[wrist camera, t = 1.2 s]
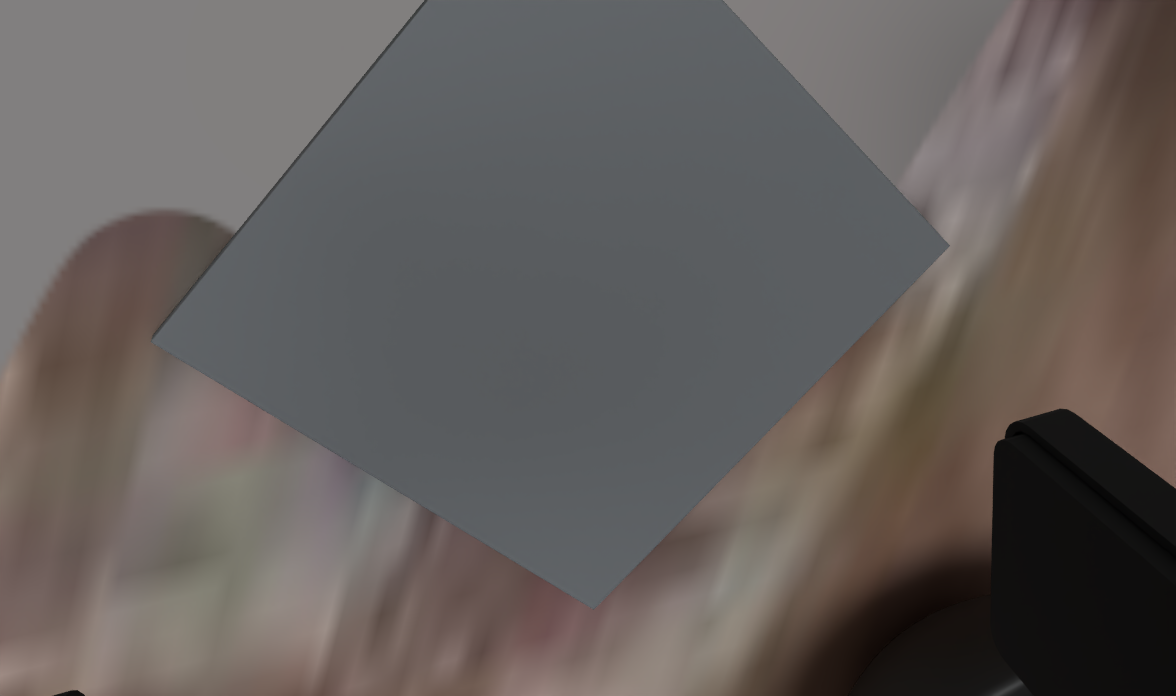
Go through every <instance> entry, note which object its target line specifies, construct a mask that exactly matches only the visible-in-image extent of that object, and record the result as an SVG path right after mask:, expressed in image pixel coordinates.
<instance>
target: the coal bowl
mask: <svg viewBox="0 0 1176 696" xmlns="http://www.w3.org/2000/svg"><path fill="white" fill-rule="evenodd" d="M990 609H991V595H987V596H982V597H978V598H974V599H970V600H967V601H964V602H961V603H957V604H955V605H952V606H949V607H946V608H944V609H942V610H940V611H937V612H935V613H933V614H931V615H929V616H927V617H925V618H924V619H922V620H920V621H919V622H917V623H915V624H914V625H912V626H911V627H909V628H908V629H906V630H905V631H904V632H902V633H901V634H900V635H898V636H897V637H896V638H895V639H894V640H892V641H891V642H890V643H889V644H888V645H887V646H886V647H885V648H884V649H883V650H882V651H881V652H880V653H879V654H878V655H877V656H876V657H875V658H874V659H873V660H872V662H871V663H870V664H869V665H868V667H867V668H866V669H865V671H864V672H863V673H862V675H861V676H860V677H859V679H858V680H857V682H856V683H855V685H854V686H853V688H852V690H851V692H850V693H849V695H848V696H1034V695H1033V694H1032V693H1031V692H1030V691H1029V689H1028V688H1027V687H1026V686H1025V685H1024V683H1023V682H1022V681H1021V680H1020V679H1019V677H1018V676H1017V675H1016V674H1015V673H1014V671H1013V670H1012V669H1011V668H1010V667H1009V665H1008V664H1007V663H1006V662H1005V660H1004V659H1003V658H1002V656H1001V655H1000V653H999V651H998V649H997V647H996V645H995V643H994V640H993V637H992V633H991V627H990Z"/></svg>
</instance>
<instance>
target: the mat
mask: <svg viewBox="0 0 1176 696" xmlns="http://www.w3.org/2000/svg"><path fill="white" fill-rule="evenodd" d="M949 246H950V245H949V244H948V243H947V242H946V241H945V240H944V239H943V238H942V237H941V236H940V234H939V233H938V232H937V231H936V230H935V229H934V228H933V227H932V226H931V225H930V224H929V223H928V222H927V220H926V219H925V218H924V217H923V216H922V215H921V214H920V213H919V212H918V211H917V210H916V209H915V207H914V206H913V205H912V204H911V203H910V202H909V201H908V200H907V199H906V198H905V197H904V196H903V195H902V193H901V192H900V191H899V190H898V189H897V188H896V187H895V186H894V185H893V184H892V183H891V182H890V180H889V179H888V178H887V177H886V176H885V175H884V174H883V173H882V172H881V171H880V170H879V169H878V168H877V166H876V165H875V164H874V163H873V162H872V161H871V160H870V159H869V158H868V157H867V156H866V155H865V153H864V152H863V151H862V150H861V149H860V148H859V147H858V146H857V145H856V144H855V143H854V142H853V141H852V140H851V138H850V137H849V136H848V135H847V134H846V133H845V132H844V131H843V130H842V129H841V128H840V127H839V125H838V124H837V123H836V122H835V121H834V120H833V119H832V118H831V117H830V116H829V115H828V113H827V112H826V111H825V110H824V109H823V108H822V107H821V106H820V105H819V104H818V103H817V102H816V101H815V99H814V98H813V97H812V96H811V95H810V94H809V93H808V92H807V91H806V90H805V89H804V88H803V87H802V86H801V84H800V83H799V82H798V81H797V80H796V79H795V78H794V77H793V76H792V75H791V74H790V72H789V71H788V70H787V69H786V68H785V67H784V66H783V65H782V64H781V63H780V62H779V61H778V59H777V58H776V57H775V56H774V55H773V54H772V53H771V52H770V51H769V50H768V49H767V48H766V47H765V45H764V44H763V43H762V42H761V41H760V40H759V39H758V38H757V37H756V36H755V35H754V34H753V32H751V30H750V29H749V28H748V27H747V26H746V25H745V24H744V23H743V22H742V21H741V20H740V18H739V17H738V16H737V15H736V14H735V13H734V12H733V11H732V10H731V9H730V8H729V7H728V6H727V4H726V3H725V2H724V1H723V0H425V1H424V2H423V3H422V4H421V5H420V7H419V8H418V9H417V10H416V12H415V13H414V14H413V15H412V17H411V18H410V19H409V20H408V21H407V23H406V24H405V25H404V26H403V28H402V29H401V30H400V31H399V33H398V34H397V35H396V36H395V38H394V39H393V40H392V41H391V42H390V44H389V45H388V46H387V47H386V49H385V50H384V51H383V52H382V54H381V55H380V56H379V57H378V58H377V60H376V61H375V62H374V64H373V65H372V66H371V67H370V68H369V70H368V71H367V72H366V73H365V74H364V76H363V77H362V78H361V80H360V81H359V82H358V83H357V84H356V86H355V87H354V88H353V90H352V91H351V92H350V93H349V94H348V95H347V97H346V98H345V99H344V100H343V102H342V103H341V104H340V105H339V107H338V108H337V109H336V110H335V111H334V113H333V114H332V115H331V117H330V118H329V119H328V120H327V121H326V123H325V124H324V125H323V126H322V128H321V129H320V130H319V131H318V132H317V134H316V135H315V136H314V137H313V139H312V140H311V141H310V142H309V144H308V145H307V146H306V147H305V149H304V150H303V151H302V152H301V154H300V155H299V156H298V157H297V158H296V160H295V161H294V162H293V163H292V164H291V166H290V167H289V168H288V170H287V171H286V172H285V173H284V174H283V176H282V177H281V178H280V179H279V181H278V182H277V183H276V184H275V186H274V187H273V188H272V189H271V190H270V192H269V193H268V194H267V195H266V197H265V198H264V199H263V200H262V202H261V203H260V204H259V205H258V207H257V208H256V209H255V210H254V211H253V213H252V214H251V215H250V216H249V218H248V219H247V220H246V221H245V222H244V224H243V225H242V226H241V227H240V229H239V230H238V231H237V232H236V234H235V235H234V236H233V237H232V238H231V240H230V241H229V242H228V243H227V245H226V246H225V247H224V248H223V250H222V251H221V252H220V253H219V254H218V256H217V257H216V258H215V259H214V261H213V262H212V263H211V264H210V266H209V267H208V268H207V269H206V271H205V272H204V273H203V274H202V275H201V277H200V278H199V279H198V280H197V282H196V283H195V284H194V285H193V287H192V288H191V289H190V290H189V291H188V293H187V294H186V295H185V296H184V298H183V299H182V300H181V301H180V303H179V304H178V305H177V306H176V308H175V309H174V310H173V311H172V312H171V314H170V315H169V316H168V317H167V319H166V320H165V321H164V322H163V324H162V325H161V326H160V327H159V328H158V330H157V331H156V332H155V333H154V335H153V337H152V340H151V342H152V343H153V344H155V345H157V346H158V347H160V348H161V349H163V350H165V351H166V352H168V353H170V354H171V355H173V356H175V357H176V358H178V359H180V360H181V361H183V362H185V363H186V364H188V365H190V366H191V367H193V368H195V369H196V370H198V371H200V372H201V373H203V374H205V375H206V376H208V377H209V378H211V379H213V380H214V381H216V382H218V383H219V384H221V385H223V386H224V387H226V388H228V389H229V390H231V391H233V392H234V393H236V394H238V395H239V396H241V397H243V398H244V399H246V400H248V401H249V402H251V403H253V404H254V405H256V406H257V407H259V408H261V409H262V410H264V411H266V412H267V413H269V414H271V415H272V416H274V417H276V418H277V419H279V420H281V421H282V422H284V423H286V424H287V425H289V426H291V427H292V428H294V429H296V430H297V431H299V432H301V433H302V434H304V435H305V436H307V437H309V438H310V439H312V440H314V441H315V442H317V443H319V444H320V445H322V446H324V447H325V448H327V449H329V450H330V451H332V452H334V453H335V454H337V455H339V456H340V457H342V458H344V459H345V460H347V461H349V462H350V463H352V464H353V465H355V466H357V467H358V468H360V469H362V470H363V471H365V472H367V473H368V474H370V475H372V476H373V477H375V478H377V479H378V480H380V481H382V482H383V483H385V484H387V485H388V486H390V487H392V488H393V489H395V490H397V491H398V492H400V493H401V494H403V495H405V496H406V497H408V498H410V499H411V500H413V501H415V502H416V503H418V504H420V505H421V506H423V507H425V508H426V509H428V510H430V511H431V512H433V513H435V514H436V515H438V516H440V517H441V518H443V519H445V520H446V521H448V522H449V523H451V524H453V525H454V526H456V527H458V528H459V529H461V530H463V531H464V532H466V533H468V534H469V535H471V536H473V537H474V538H476V539H478V540H479V541H481V542H483V543H484V544H486V545H488V546H489V547H491V548H493V549H494V550H496V551H497V552H499V553H501V554H502V555H504V556H506V557H507V558H509V559H511V560H512V561H514V562H516V563H517V564H519V565H521V566H522V567H524V568H526V569H527V570H529V571H531V572H532V573H534V574H536V575H537V576H539V577H541V578H542V579H544V580H546V581H547V582H549V583H550V584H552V585H554V586H555V587H557V588H559V589H560V590H562V591H564V592H565V593H567V594H569V595H570V596H572V597H574V598H575V599H577V600H579V601H580V602H582V603H584V604H585V605H587V606H589V607H590V608H592V609H595V608H596V607H597V606H598V605H599V604H600V603H601V602H602V601H603V600H604V599H605V598H606V597H607V596H608V595H609V594H610V593H611V592H612V591H613V590H614V589H615V588H616V586H617V585H618V584H619V583H620V582H621V581H622V580H623V579H624V578H625V577H626V576H627V575H628V574H629V573H630V572H631V571H632V570H633V569H634V568H635V567H636V566H637V565H638V564H639V563H640V562H641V561H642V560H643V559H644V558H645V557H646V556H647V555H648V554H649V553H650V552H651V551H652V550H653V549H654V548H655V547H656V546H657V545H658V544H659V543H660V542H661V541H662V539H663V538H664V537H665V536H666V535H667V534H668V533H669V532H670V531H671V530H672V529H673V528H674V527H675V526H676V525H677V524H678V523H679V522H680V521H681V520H682V519H683V518H684V517H685V516H686V515H687V514H688V513H689V512H690V511H691V510H692V509H693V508H694V507H695V506H696V505H697V504H698V503H699V502H700V501H701V500H702V499H703V498H704V497H705V496H706V495H707V493H708V492H709V491H710V490H711V489H712V488H713V487H714V486H715V485H716V484H717V483H718V482H719V481H720V480H721V479H722V478H723V477H724V476H725V475H726V474H727V473H728V472H729V471H730V470H731V469H732V468H733V467H734V466H735V465H736V464H737V463H738V462H739V461H740V460H741V459H742V458H743V457H744V456H745V455H746V454H747V453H748V452H749V451H750V450H751V449H752V447H753V446H754V445H755V444H756V443H757V442H758V441H759V440H760V439H761V438H762V437H763V436H764V435H765V434H766V433H767V432H768V431H769V430H770V429H771V428H772V427H773V426H774V425H775V424H776V423H777V422H778V421H779V420H780V419H781V418H782V417H783V416H784V415H785V414H786V413H787V412H788V411H789V410H790V409H791V408H792V407H793V406H794V405H795V404H796V403H797V401H798V400H799V399H800V398H801V397H802V396H803V395H804V394H805V393H806V392H807V391H808V390H809V389H810V388H811V387H812V386H813V385H814V384H815V383H816V382H817V381H818V380H819V379H820V378H821V377H822V376H823V375H824V374H825V373H826V372H827V371H828V370H829V369H830V368H831V367H832V366H833V365H834V364H835V363H836V362H837V361H838V360H839V359H840V358H841V357H842V356H843V354H844V353H845V352H846V351H847V350H848V349H849V348H850V347H851V346H852V345H853V344H854V343H855V342H856V341H857V340H858V339H859V338H860V337H861V336H862V335H863V334H864V333H865V332H866V331H867V330H868V329H869V328H870V327H871V326H872V325H873V324H874V323H875V322H876V321H877V320H878V319H879V318H880V317H881V316H882V315H883V314H884V313H885V312H886V311H887V310H888V308H889V307H890V306H891V305H892V304H893V303H894V302H895V301H896V300H897V299H898V298H899V297H900V296H901V295H902V294H903V293H904V292H905V291H906V290H907V289H908V288H909V287H910V286H911V285H912V284H913V283H914V282H915V281H916V280H917V279H918V278H919V277H920V276H921V275H922V274H923V273H924V272H925V271H926V270H927V269H928V268H929V267H930V266H931V265H932V264H933V262H934V261H935V260H936V259H937V258H938V257H939V256H940V255H941V254H942V253H943V252H944V251H945V250H946V249H947V248H948V247H949Z"/></svg>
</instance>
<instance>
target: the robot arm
mask: <svg viewBox="0 0 1176 696" xmlns="http://www.w3.org/2000/svg"><path fill="white" fill-rule="evenodd" d="M990 627H991V633H992V637H993V640H994V643H995V645H996V647H997V649H998V651H999V653H1000V655H1001V656H1002V658H1003V659H1004V660H1005V662H1006V663H1007V664H1008V665H1009V667H1010V668H1011V669H1012V670H1013V671H1014V673H1015V674H1016V675H1017V676H1018V677H1019V679H1020V680H1021V681H1022V682H1023V683H1024V685H1025V686H1026V687H1027V688H1028V689H1029V691H1030V692H1031V693H1032V694H1033V695H1034V696H1176V489H1175V488H1174V487H1173V486H1171V485H1170V484H1169V483H1167V482H1166V481H1165V480H1163V479H1162V478H1161V477H1159V476H1158V475H1157V474H1155V473H1154V472H1153V471H1151V470H1150V469H1149V468H1147V467H1146V466H1145V465H1143V464H1142V463H1141V462H1139V461H1138V460H1137V459H1135V458H1134V457H1133V456H1131V455H1130V454H1129V453H1127V452H1126V451H1125V450H1123V449H1122V448H1121V447H1119V446H1118V445H1117V444H1115V443H1114V442H1113V441H1111V440H1110V439H1109V438H1107V437H1106V436H1105V435H1103V434H1102V433H1101V432H1099V431H1098V430H1096V429H1095V428H1094V427H1092V426H1091V425H1090V424H1088V423H1087V422H1086V421H1084V420H1083V419H1082V418H1080V417H1079V416H1078V415H1076V414H1075V413H1073V412H1071V411H1069V410H1068V409H1058V410H1054V411H1051V412H1047V413H1044V414H1040V415H1037V416H1033V417H1030V418H1026V419H1023V420H1019V421H1016V422H1013V423H1012V424H1010V425H1009V427H1008V428H1007V430H1006V434H1005V439H1003V440H1000V441H998V442H997V444H996V445H995V449H994V471H993V517H992V563H991V609H990ZM54 696H85V695H84V694H83V693H81V692H79V691H78V690H72V691H68V692H64V693H61V694H57V695H54Z"/></svg>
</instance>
